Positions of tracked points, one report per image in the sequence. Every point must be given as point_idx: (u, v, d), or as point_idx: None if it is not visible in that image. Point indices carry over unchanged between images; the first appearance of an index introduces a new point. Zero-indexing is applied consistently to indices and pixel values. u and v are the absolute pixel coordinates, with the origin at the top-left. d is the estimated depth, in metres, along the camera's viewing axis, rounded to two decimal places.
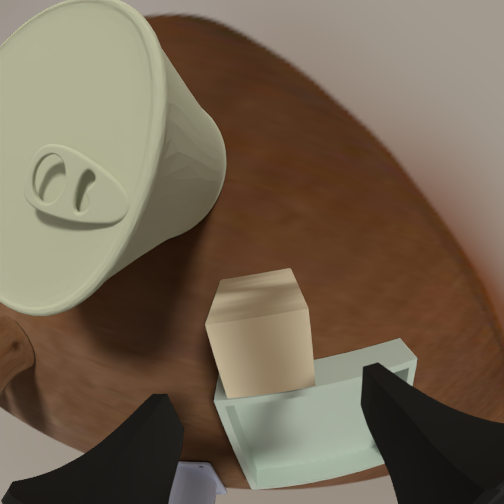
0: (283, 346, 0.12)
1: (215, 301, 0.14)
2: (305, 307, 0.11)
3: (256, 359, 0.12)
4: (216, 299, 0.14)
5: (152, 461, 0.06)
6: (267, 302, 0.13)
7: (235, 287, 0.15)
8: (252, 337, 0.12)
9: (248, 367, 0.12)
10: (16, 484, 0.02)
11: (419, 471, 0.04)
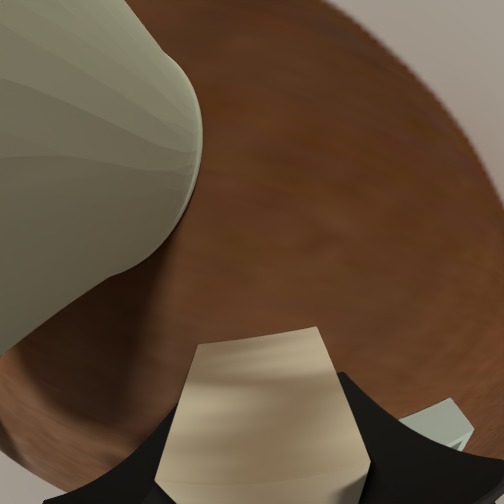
0: None
1: (181, 408, 0.06)
2: (364, 459, 0.04)
3: None
4: (183, 402, 0.07)
5: None
6: (281, 433, 0.05)
7: (220, 371, 0.08)
8: (252, 500, 0.04)
9: None
10: (49, 503, 0.02)
11: (369, 490, 0.04)
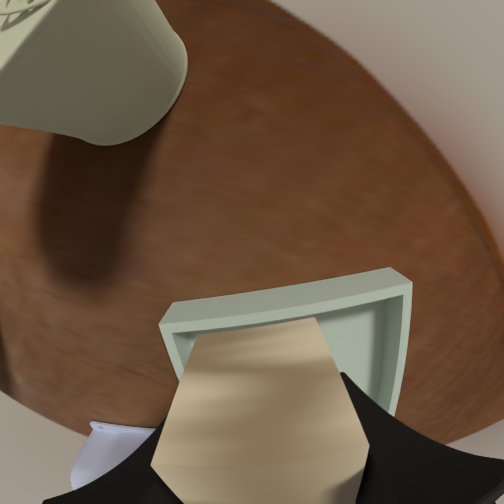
0: (307, 493, 0.04)
1: (179, 395, 0.07)
2: (363, 443, 0.04)
3: None
4: (182, 389, 0.07)
5: None
6: (279, 417, 0.05)
7: (218, 359, 0.08)
8: (249, 487, 0.04)
9: None
10: (49, 503, 0.02)
11: (369, 490, 0.04)
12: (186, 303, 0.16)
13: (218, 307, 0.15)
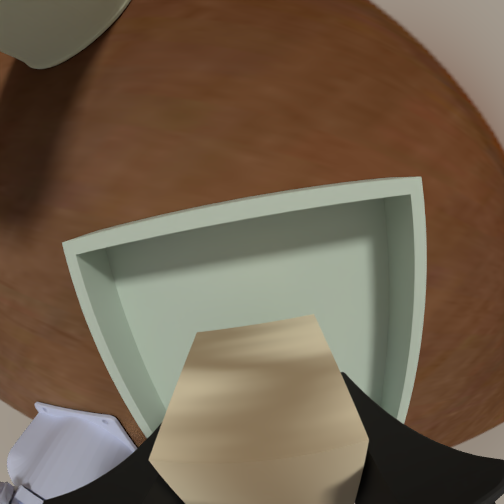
0: (307, 489, 0.04)
1: (178, 390, 0.07)
2: (362, 437, 0.04)
3: (254, 502, 0.04)
4: (181, 385, 0.07)
5: None
6: (277, 412, 0.05)
7: (218, 356, 0.08)
8: (247, 483, 0.04)
9: None
10: (49, 503, 0.02)
11: (369, 490, 0.04)
12: None
13: (139, 221, 0.10)
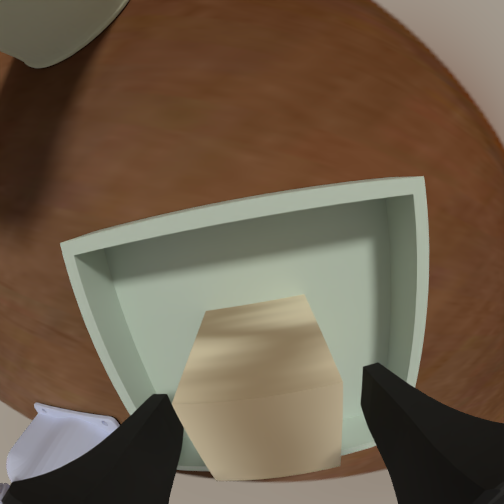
0: (297, 432, 0.06)
1: (193, 353, 0.09)
2: (338, 380, 0.06)
3: (255, 446, 0.07)
4: (195, 349, 0.09)
5: (152, 461, 0.06)
6: (272, 364, 0.07)
7: (224, 327, 0.10)
8: (250, 423, 0.06)
9: (245, 455, 0.07)
10: (17, 484, 0.02)
11: (419, 471, 0.04)
12: None
13: (138, 221, 0.10)
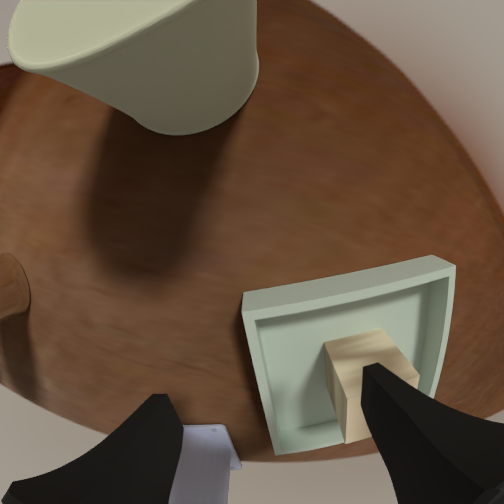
0: None
1: (338, 371, 0.15)
2: (417, 374, 0.12)
3: None
4: (337, 368, 0.15)
5: (152, 461, 0.06)
6: None
7: (345, 353, 0.16)
8: None
9: None
10: (16, 484, 0.02)
11: (419, 471, 0.04)
12: (258, 292, 0.17)
13: (296, 293, 0.16)
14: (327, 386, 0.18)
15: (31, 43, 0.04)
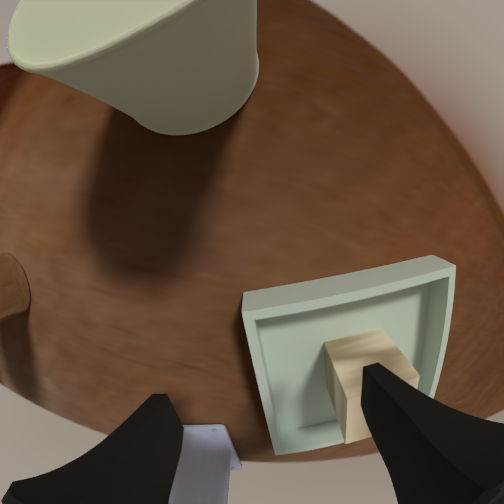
0: None
1: (338, 371, 0.15)
2: (417, 374, 0.12)
3: None
4: (337, 368, 0.15)
5: (152, 461, 0.06)
6: None
7: (345, 353, 0.16)
8: None
9: None
10: (17, 484, 0.02)
11: (419, 471, 0.04)
12: (258, 292, 0.17)
13: (296, 293, 0.16)
14: (327, 386, 0.18)
15: (32, 43, 0.04)
